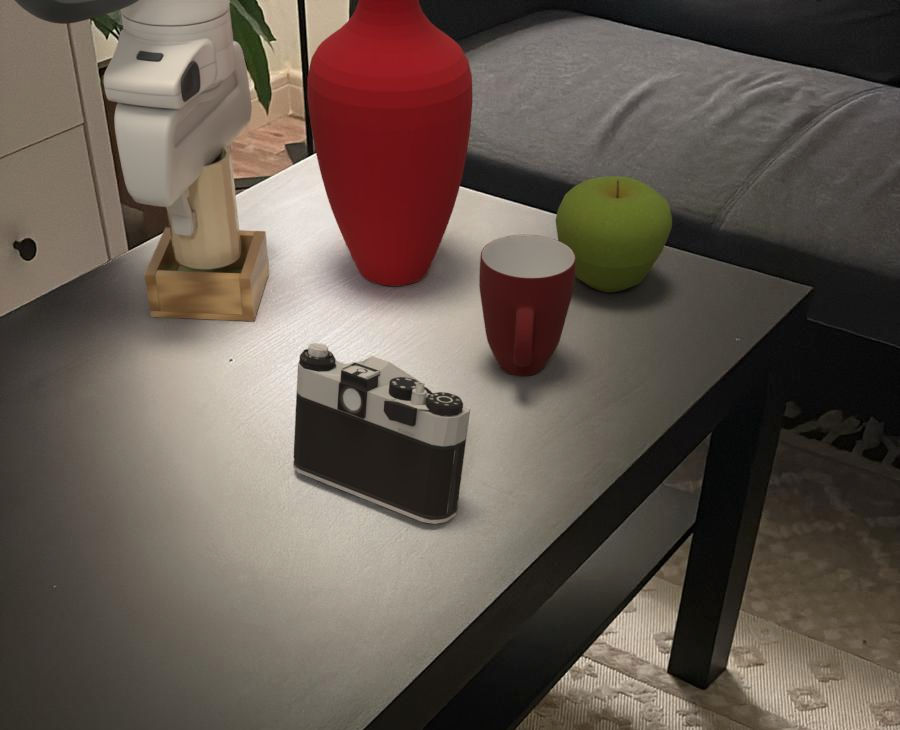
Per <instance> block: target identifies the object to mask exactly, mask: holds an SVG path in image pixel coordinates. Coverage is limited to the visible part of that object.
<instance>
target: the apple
mask: <svg viewBox="0 0 900 730" xmlns="http://www.w3.org/2000/svg"><path fill="white" fill-rule="evenodd" d="M555 227H556V233H557V234H556V236H557V240H558V241H560V242H562V243H564V244H566V245H567V246H568V247H570V248H571V249H572V251H573V252H574V254H575V257H576V264H575V277H576V278H577V279H579V280H580V281H581V282H583V283H584V284H585V285H587V286H588V287H589V288H592V289H594V290H596V291H599V292H603V293H611V294H612V293H618V292H621V291H624V290H626V289H627V290H628V289H629V288H632V287H634V286H636V285H638V284H640V283H641V282H642V281H643V280H644V279H645V277H646V276H647V275H648V273H649V272H650V270H651V269H652V267H653V266H654V264H655V263H656V262H657V260H658V258H660V256H661V254H662V253H663V250H664V248H665V245H666V243H667V242H668V238H669V236H670V233H671V230H672V227H673V215H672V212H671V207H670V202H669V201H668V200H667V199H666V198H665V197H664V196H662V195H661V194H660V193H659V192H658V191H656V190H655V189H653V187H651V186H649V185H648V184H646V183H644V182H643V181H641V180H639V179H635V178H632V177H629V176H617V175H616V176H614V175H611V176H597V177H592V178H590V179H586V180H584V181H582V182H580V183H578V184H577V185H575V186H573V187H572V188H571V189H570V190H569V191H567V192H566V193H565V194H564V196H563V198H562V201H561V203H560V204H559V206H558V209H557V210H556V216H555Z"/></svg>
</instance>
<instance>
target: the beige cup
mask: <svg viewBox="0 0 900 730" xmlns="http://www.w3.org/2000/svg"><path fill="white" fill-rule="evenodd" d="M233 168H234V167H233V159H232V151H231V152H230V150H229V148H228V147H227V146H225V145H224V146H223V147H222V153H221V154H220V155H219V156H218V157H217V158H216V159H215V160H214V161H213V162H212V163H211V164H210V165H207V166H204V167H203V168H202V174H201V175H200V176H199V177H198V178H197V179H196V180H195V181H194V182H193V183H192V184H191V185H190V186H189V197H188V198H187V201H188V203H189V206H190V209H191V210H196V216H197V219H196V221H197V224H198V226H197V228H196V230H195V231H194V232H193V233H192V234H191V235H190V236H182V235H177V234H176V233H174V231H173V226H172V220H171V215H170V214H169V212H168V210H167V209H166V211H167V219H168V228H170V233H171V240H172V247H173V252H174V256H175V259H176V261H177V262H179V263H180V264H182V265H184V266H186V267H189V268H194V269H216V268H221V267H225V266H228V265H230V264H232V263H234V262H235V261H237V260H238V259H239V257H240V256H241V240H240V230H241V229H240V224H239V221H240V220H239V213H238V205H237V204H238V203H237V195H236V186H235V177H234V169H233Z"/></svg>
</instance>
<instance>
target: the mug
mask: <svg viewBox="0 0 900 730" xmlns="http://www.w3.org/2000/svg"><path fill="white" fill-rule="evenodd" d="M479 257H480V258H479V277H478V280H479V284H478V285H479V294H480V302H481V308H482V316H483V317H482V318H483V323H484V330H485V336H486V341H487V344H488V346H489V349H490V351H491V353H492V355H493V357H494V358H495V360H496V362H497V364H498V366H499V367H500V369H501V370H502V371H503V372H505V373H507V374H508V375H512V376H514V377H515V376H517V377H531V376H533V375H536V374H538V373H540V372H541V371H542V370H543V369H544V368H545V366H546V365H547V363H548V362H549V360H550V359H551V357H552V356H553V354H554V353H555V351H556V349H557V348H558V346H559V343H560V342H561V341H560V340H561V337H562V334H563V330H564V328H565V327H564V326H565V323H566V319H567V315H568V311H569V308H570V304H571V300H572V297H573V293H574V288H575V285H574V284H575V277H576V276H575V264H576V257H575V254H574V252H573V251H572V249H571V248H570V247H568V246H567V245H566V244H564V243H562V242H560V241H558V239H556V238H555V239H554V238H552V237H548V236H544V235H537V234H513V235H512V234H511V235H507V236H502V237H498V238H496V239H494V240H492V241H490V242H488V243H487V244H485V245H484V246H483V248H482V249H481V251H480V256H479Z"/></svg>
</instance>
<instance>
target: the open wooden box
mask: <svg viewBox="0 0 900 730" xmlns="http://www.w3.org/2000/svg"><path fill="white" fill-rule="evenodd" d="M239 230H240V240H241V256H240V257H239V259H238V260H237V261H235V262H234V263H232V264H230V265H228V266H225V267H221V268H216V269H194V268H189V267H186V266H184V265H182V264H180V263H179V262H177V261H176V259H175V256H174V252H173V247H172V240H171V233H170V227H164V229H163V232H162V234H161V236H160V238H159V240H158V242H157V245H156V247H155V250H154V252H153V254H152V256H151V258H150V261H149V262H148V266H147V267H146V270H145V272H144V274H143V277H144V282H145V283H144V284H145V288H146V293H147V295H146V296H147V300H148V305H149V313H150V318H164V319H165V318H169V319H191V320H194V319H195V320H214V321H215V320H216V321H217V320H218V321H241V322H242V321H243V322H255V319H256V317H257V313H258V311H259V307H260V303H261V300H262V297H263V294H264V291H265V288H266V285H267V284H266V283H267V281H268V277H269V275H270V267H269V266H270V265H269V254H268V244H267V233H266V230H243V229H242V230H241V229H239Z"/></svg>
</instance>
